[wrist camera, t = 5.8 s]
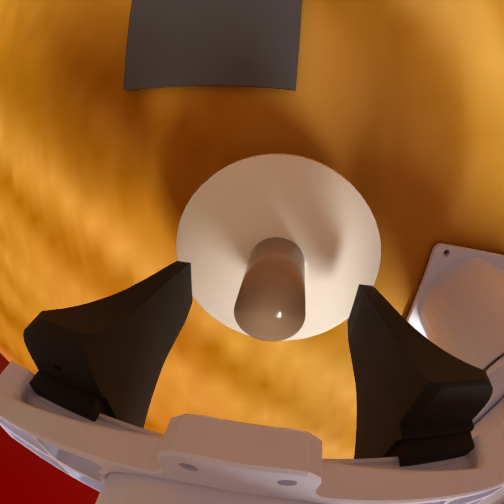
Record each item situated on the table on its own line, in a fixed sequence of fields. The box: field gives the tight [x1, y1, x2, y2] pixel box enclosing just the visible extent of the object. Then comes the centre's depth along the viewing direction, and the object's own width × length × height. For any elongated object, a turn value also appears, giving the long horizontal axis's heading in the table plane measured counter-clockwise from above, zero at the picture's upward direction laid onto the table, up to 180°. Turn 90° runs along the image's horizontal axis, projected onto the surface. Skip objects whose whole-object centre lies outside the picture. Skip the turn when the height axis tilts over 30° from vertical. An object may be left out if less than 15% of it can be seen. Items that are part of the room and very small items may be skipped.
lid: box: [176, 153, 381, 341], centre depth 13 cm, size 10×10×5 cm
